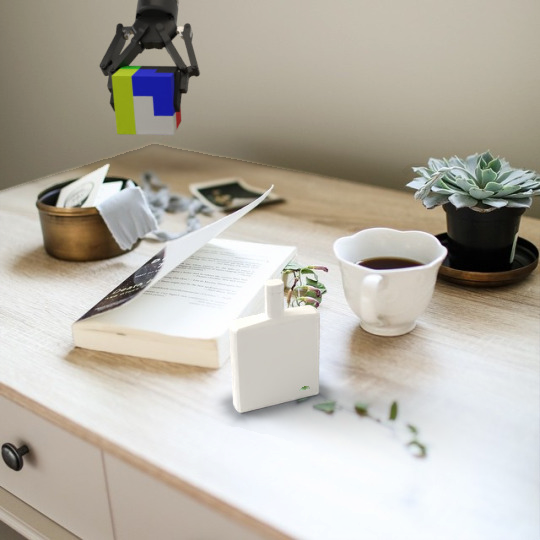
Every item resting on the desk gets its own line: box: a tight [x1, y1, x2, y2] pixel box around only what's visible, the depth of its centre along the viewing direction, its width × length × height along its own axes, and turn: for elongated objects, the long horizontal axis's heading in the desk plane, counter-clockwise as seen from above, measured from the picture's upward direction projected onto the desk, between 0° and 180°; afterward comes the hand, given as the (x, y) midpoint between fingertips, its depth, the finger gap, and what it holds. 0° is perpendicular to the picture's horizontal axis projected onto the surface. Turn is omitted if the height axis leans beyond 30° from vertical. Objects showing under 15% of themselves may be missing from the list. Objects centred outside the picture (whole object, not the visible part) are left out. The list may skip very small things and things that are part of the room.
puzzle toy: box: [112, 65, 182, 136], centre depth 120 cm, size 10×10×10 cm
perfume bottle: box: [228, 278, 321, 414], centre depth 59 cm, size 8×2×12 cm, turn 110°
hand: (144, 107), depth 118 cm, fingers closed on puzzle toy, 10 cm apart
